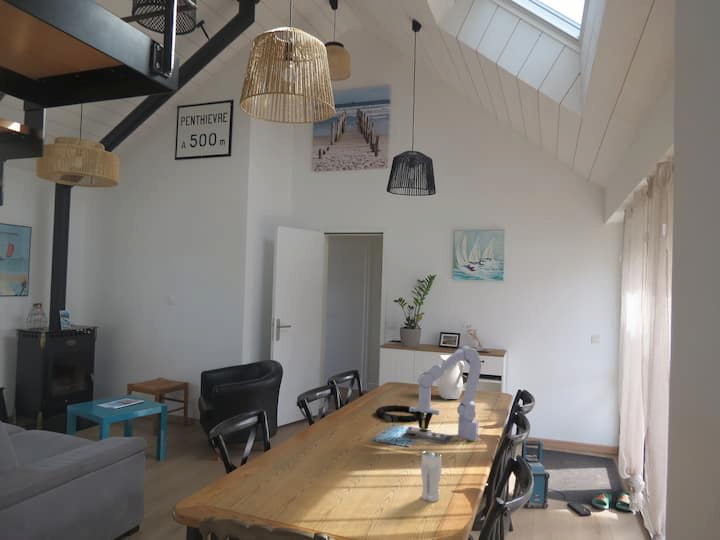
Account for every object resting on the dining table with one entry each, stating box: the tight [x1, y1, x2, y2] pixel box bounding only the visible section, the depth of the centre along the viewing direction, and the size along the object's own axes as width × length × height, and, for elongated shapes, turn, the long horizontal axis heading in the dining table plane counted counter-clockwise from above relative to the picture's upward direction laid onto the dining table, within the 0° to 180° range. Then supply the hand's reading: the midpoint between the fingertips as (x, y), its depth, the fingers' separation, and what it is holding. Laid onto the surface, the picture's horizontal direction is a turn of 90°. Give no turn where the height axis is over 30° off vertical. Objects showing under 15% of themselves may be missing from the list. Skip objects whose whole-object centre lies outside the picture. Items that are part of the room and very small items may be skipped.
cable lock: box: [375, 404, 426, 423], centre depth 287 cm, size 28×4×30 cm
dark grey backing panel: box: [400, 431, 454, 445], centre depth 246 cm, size 22×16×1 cm
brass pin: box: [420, 417, 426, 432], centre depth 247 cm, size 2×2×8 cm
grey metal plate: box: [405, 426, 448, 441], centre depth 247 cm, size 19×6×3 cm, turn 66°
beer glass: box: [420, 450, 443, 503], centre depth 176 cm, size 7×7×15 cm
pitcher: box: [436, 354, 465, 400], centre depth 338 cm, size 24×17×28 cm
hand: (423, 428), depth 247 cm, fingers closed on brass pin, 2 cm apart
